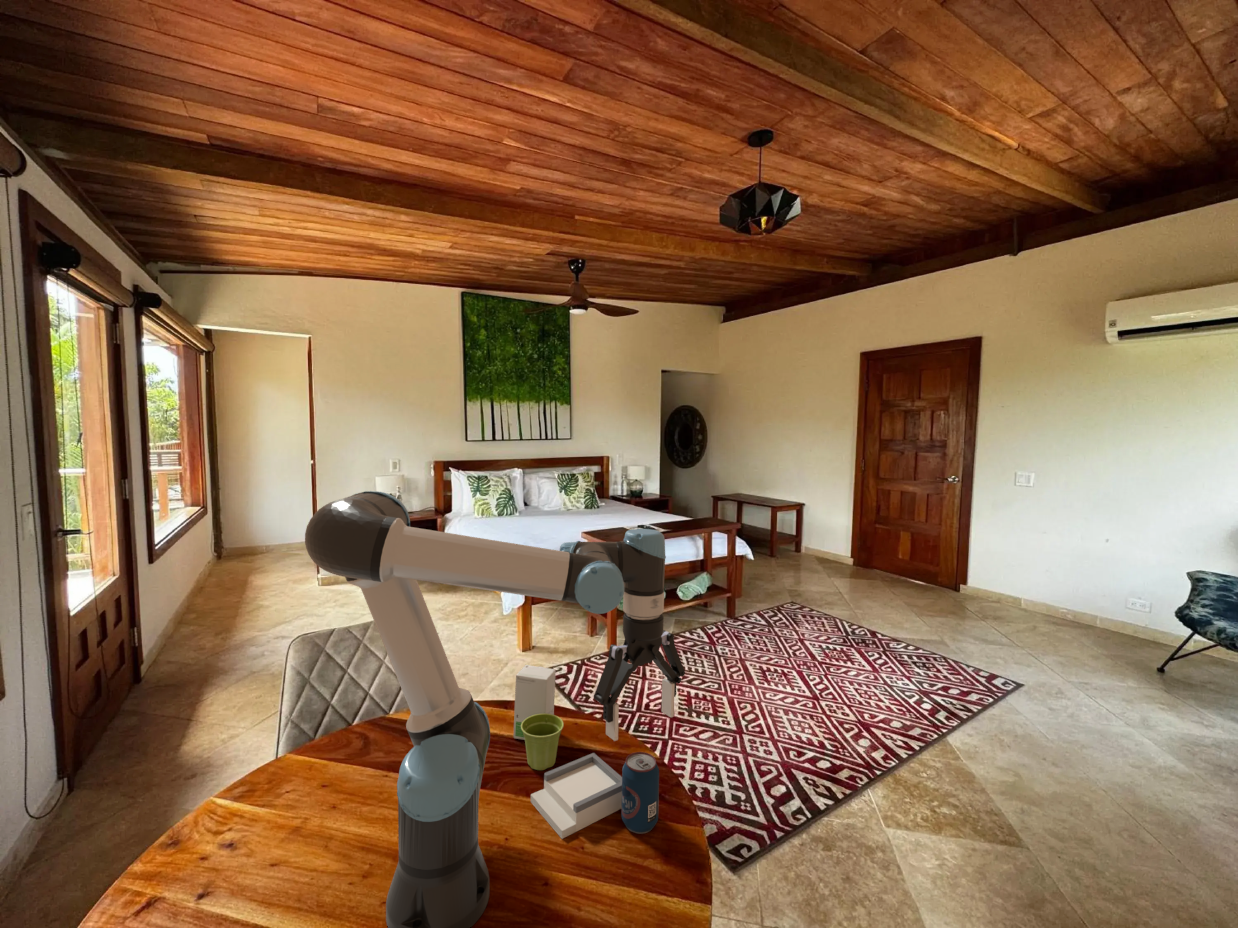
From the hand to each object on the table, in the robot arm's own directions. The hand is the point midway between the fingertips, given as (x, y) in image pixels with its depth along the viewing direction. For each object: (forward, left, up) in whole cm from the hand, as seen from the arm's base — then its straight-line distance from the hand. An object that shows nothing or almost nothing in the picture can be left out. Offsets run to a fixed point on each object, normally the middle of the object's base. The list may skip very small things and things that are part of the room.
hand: (640, 725), depth 99 cm
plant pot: (-6, +27, -19) cm, 33 cm away
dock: (-7, +11, -19) cm, 22 cm away
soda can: (0, 0, -19) cm, 19 cm away
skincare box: (-2, +38, -19) cm, 42 cm away
